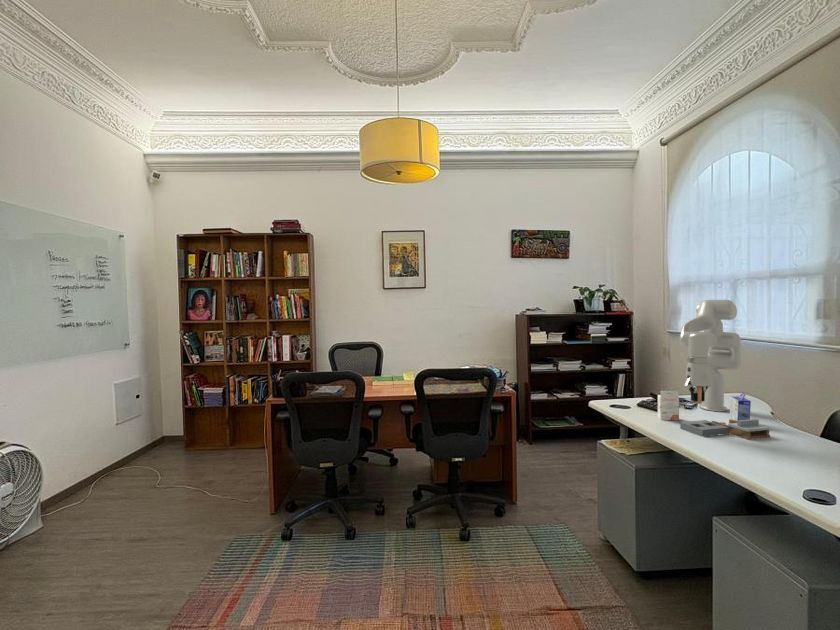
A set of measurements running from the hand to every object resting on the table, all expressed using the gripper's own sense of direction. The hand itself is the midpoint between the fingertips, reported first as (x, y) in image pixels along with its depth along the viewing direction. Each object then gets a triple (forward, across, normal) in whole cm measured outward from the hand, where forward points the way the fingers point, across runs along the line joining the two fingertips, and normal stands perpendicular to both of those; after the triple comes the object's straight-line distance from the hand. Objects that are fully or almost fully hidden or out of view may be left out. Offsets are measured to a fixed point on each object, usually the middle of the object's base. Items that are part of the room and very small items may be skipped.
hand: (697, 400), depth 194 cm
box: (+14, +18, -5) cm, 23 cm away
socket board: (+14, +4, 0) cm, 15 cm away
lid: (+11, +18, -9) cm, 23 cm away
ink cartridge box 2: (+14, +31, +6) cm, 35 cm away
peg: (+1, 0, 0) cm, 1 cm away
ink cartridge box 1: (+14, +4, +21) cm, 26 cm away
